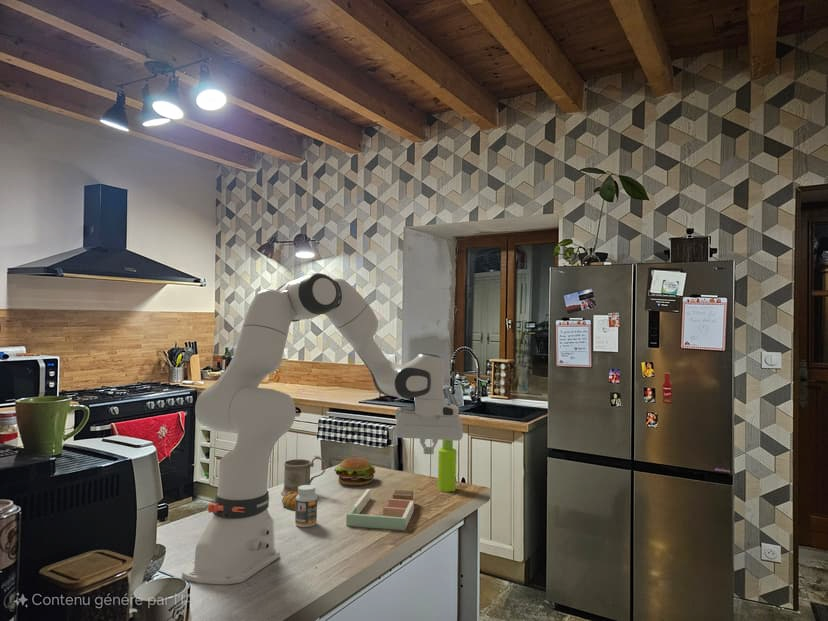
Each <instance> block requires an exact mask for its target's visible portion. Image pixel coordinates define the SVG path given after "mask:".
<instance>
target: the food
mask: <svg viewBox="0 0 828 621" xmlns="http://www.w3.org/2000/svg"><path fill="white" fill-rule="evenodd" d="M334 472H335V474H336V475H337V476H338V479H337V481H338V483H340V484H342V485H346V486H363V485H364V486H365V485H368V484H370V483H372V481H373V479H374V477H375V475H374V474H376V467H374V466H373V465H372V463H371V461H369V460H368V459H366V458H363V457H357V456H356V457H355V456H354V457H348V458H345V459H344V460H342V461H341V462H340V464H339V465H337V466H336V467H335V468H334Z"/></svg>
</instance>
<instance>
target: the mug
mask: <svg viewBox="0 0 828 621" xmlns="http://www.w3.org/2000/svg"><path fill="white" fill-rule="evenodd" d="M313 457H314V458H312V460H309V459H303V458H301V459H300V458H298V459H297V458H295V459H290V460H289V459H288V460H286V461H284V463H283V465H284V472H283V473H284V474H283V475H284V477H283V478H284V479H283V480H284V481H283V488H282V489H283V490H282V491H280V495H281V496H283V497H284V496H285V494H287V493H288V492H291V491H293V492H296V493H298V487H299V486H302V485H311V483H312V481H314V479H315V478H318V477H320V476H322V475H323V474H324V473H325V472H326V469H327V463H326V461H325V459H324V458H322V457H321V456H320V455H314V456H313ZM315 460H320V461H322V462H323V464H324V467H323V470H322V472H321V473H319V474H316V475H314V476H312V477H311V468H313V467H315V463H314V461H315Z"/></svg>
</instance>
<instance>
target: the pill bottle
mask: <svg viewBox="0 0 828 621" xmlns="http://www.w3.org/2000/svg"><path fill="white" fill-rule="evenodd" d="M298 493H299V495H297V497H296V510H294V511H295V514H294V516H295V518H294V519H295V520H294V524H295V525H296V526H297V527H300V528H309V527H314V526H315V525H316V524H317V523H318V522H317V519H318V518H317V517H318V516H317V515H318V496H317V494H316V486H315V485H313V484H312V485H311V484H310V485H302V486H299V487H298Z"/></svg>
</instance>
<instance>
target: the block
mask: <svg viewBox="0 0 828 621" xmlns="http://www.w3.org/2000/svg"><path fill="white" fill-rule="evenodd" d="M392 499H402V500H414V490H411V489H409V490H408V489H395V490H394V492H393V494H392Z"/></svg>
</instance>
